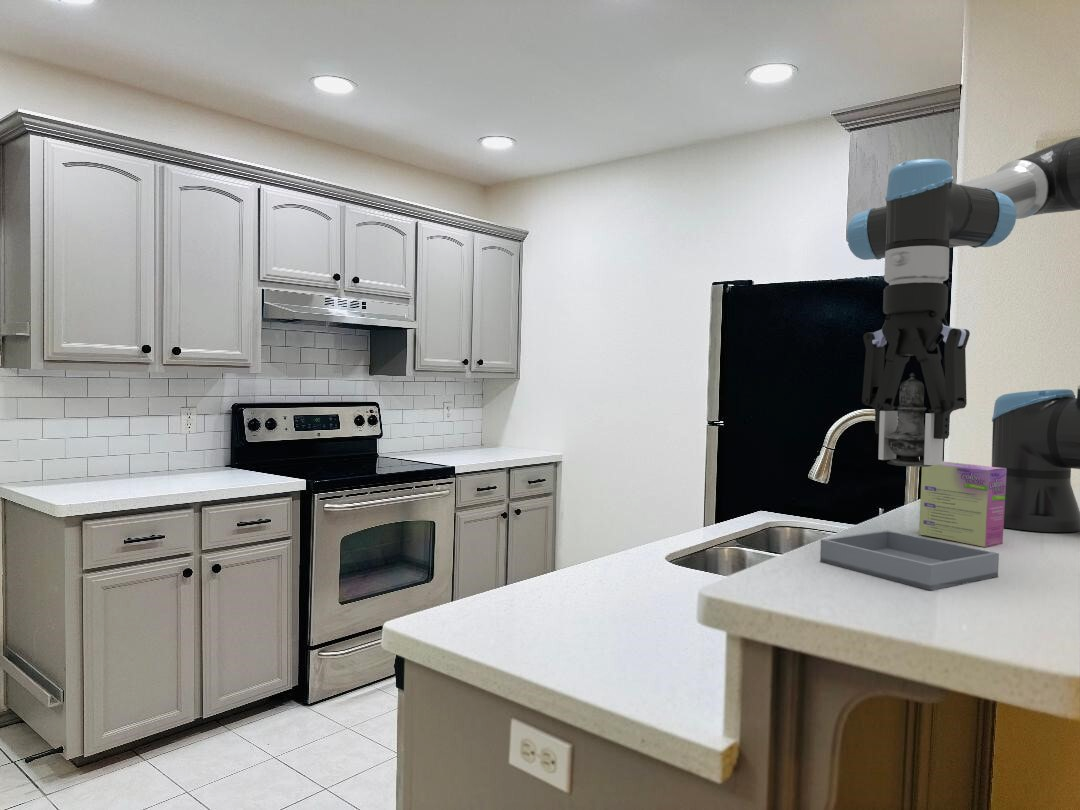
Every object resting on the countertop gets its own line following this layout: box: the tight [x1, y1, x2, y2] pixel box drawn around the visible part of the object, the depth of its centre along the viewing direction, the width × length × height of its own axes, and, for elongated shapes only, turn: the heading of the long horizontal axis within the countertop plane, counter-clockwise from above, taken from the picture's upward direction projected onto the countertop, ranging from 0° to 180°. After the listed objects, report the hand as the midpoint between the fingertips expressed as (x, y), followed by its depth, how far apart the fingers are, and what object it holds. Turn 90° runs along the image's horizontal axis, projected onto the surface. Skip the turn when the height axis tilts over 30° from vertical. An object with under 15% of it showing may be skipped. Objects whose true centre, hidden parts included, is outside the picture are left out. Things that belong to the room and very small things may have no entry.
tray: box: [819, 530, 1000, 591], centre depth 102 cm, size 14×16×3 cm
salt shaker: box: [886, 372, 932, 468], centre depth 101 cm, size 6×6×12 cm
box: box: [918, 460, 1007, 548], centre depth 121 cm, size 10×6×12 cm, turn 34°
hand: (909, 461), depth 101 cm, fingers closed on salt shaker, 6 cm apart
